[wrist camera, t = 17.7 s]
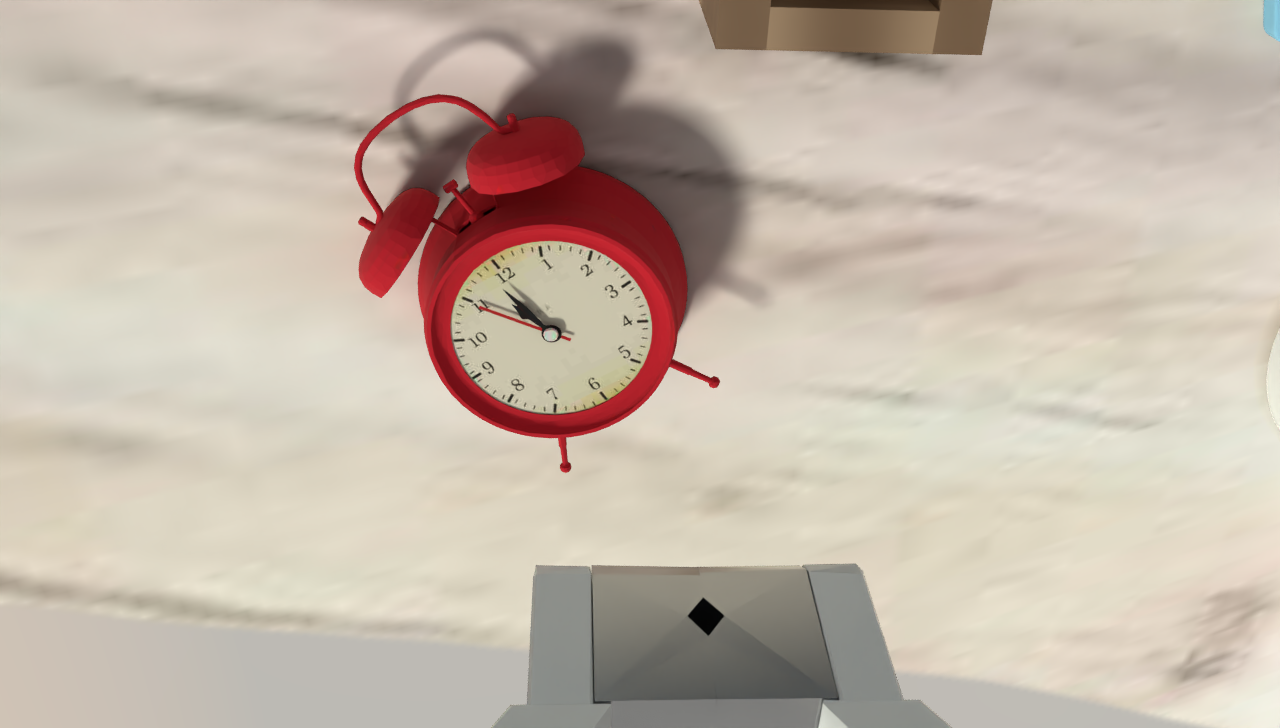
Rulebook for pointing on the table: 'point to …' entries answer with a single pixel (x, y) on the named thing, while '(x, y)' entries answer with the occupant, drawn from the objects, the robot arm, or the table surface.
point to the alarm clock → (536, 281)
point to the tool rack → (850, 25)
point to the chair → (1272, 18)
